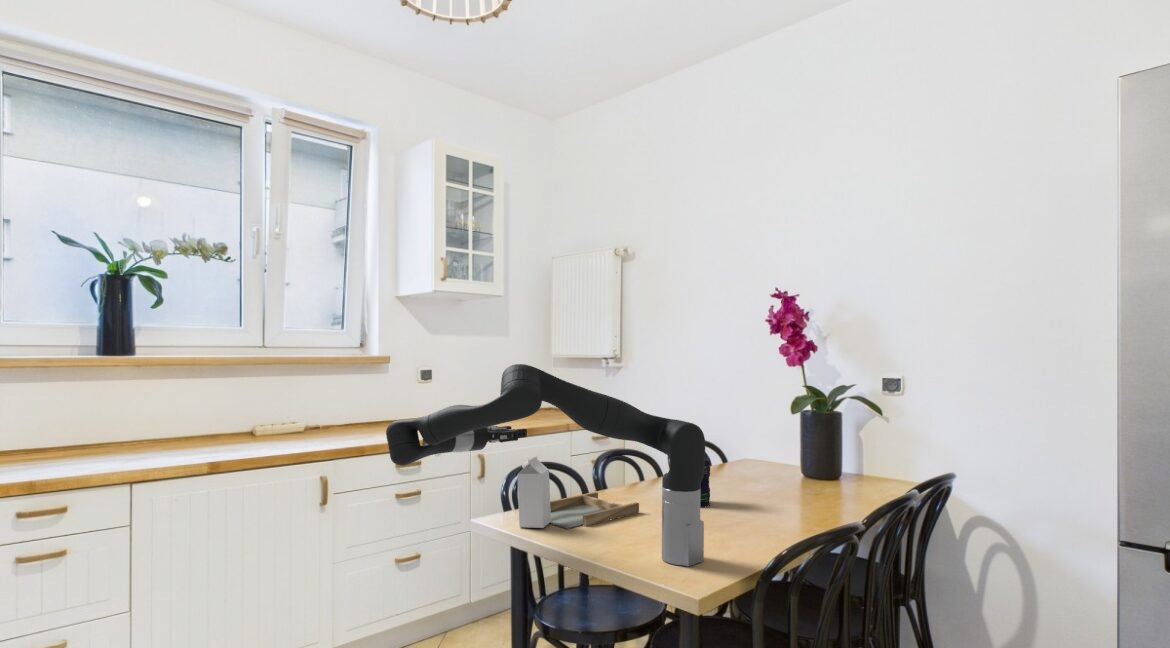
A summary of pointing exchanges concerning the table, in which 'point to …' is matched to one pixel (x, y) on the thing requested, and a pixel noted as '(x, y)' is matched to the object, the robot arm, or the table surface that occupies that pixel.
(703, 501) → the dark blue barrel
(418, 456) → the robot arm
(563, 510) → the tray
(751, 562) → the table surface
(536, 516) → the milk carton
